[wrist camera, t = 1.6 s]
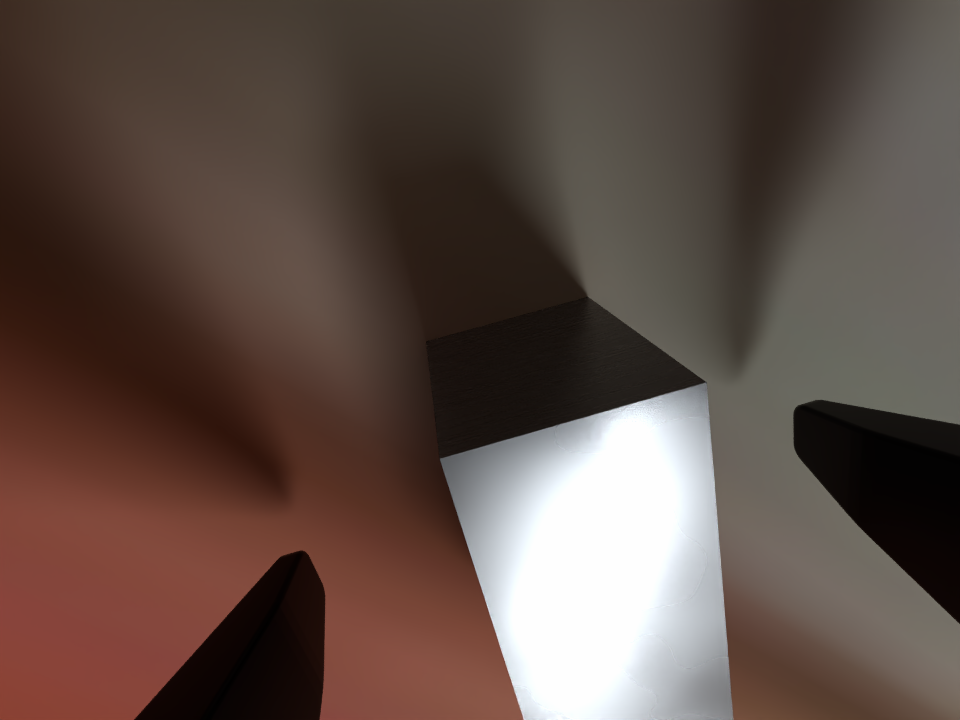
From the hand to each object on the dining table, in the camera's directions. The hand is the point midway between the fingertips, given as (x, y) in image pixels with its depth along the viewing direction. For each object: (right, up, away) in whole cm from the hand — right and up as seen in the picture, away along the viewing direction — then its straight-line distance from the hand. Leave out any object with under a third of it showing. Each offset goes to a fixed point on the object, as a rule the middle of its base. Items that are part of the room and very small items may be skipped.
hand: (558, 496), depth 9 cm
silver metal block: (0, 0, +1) cm, 1 cm away
